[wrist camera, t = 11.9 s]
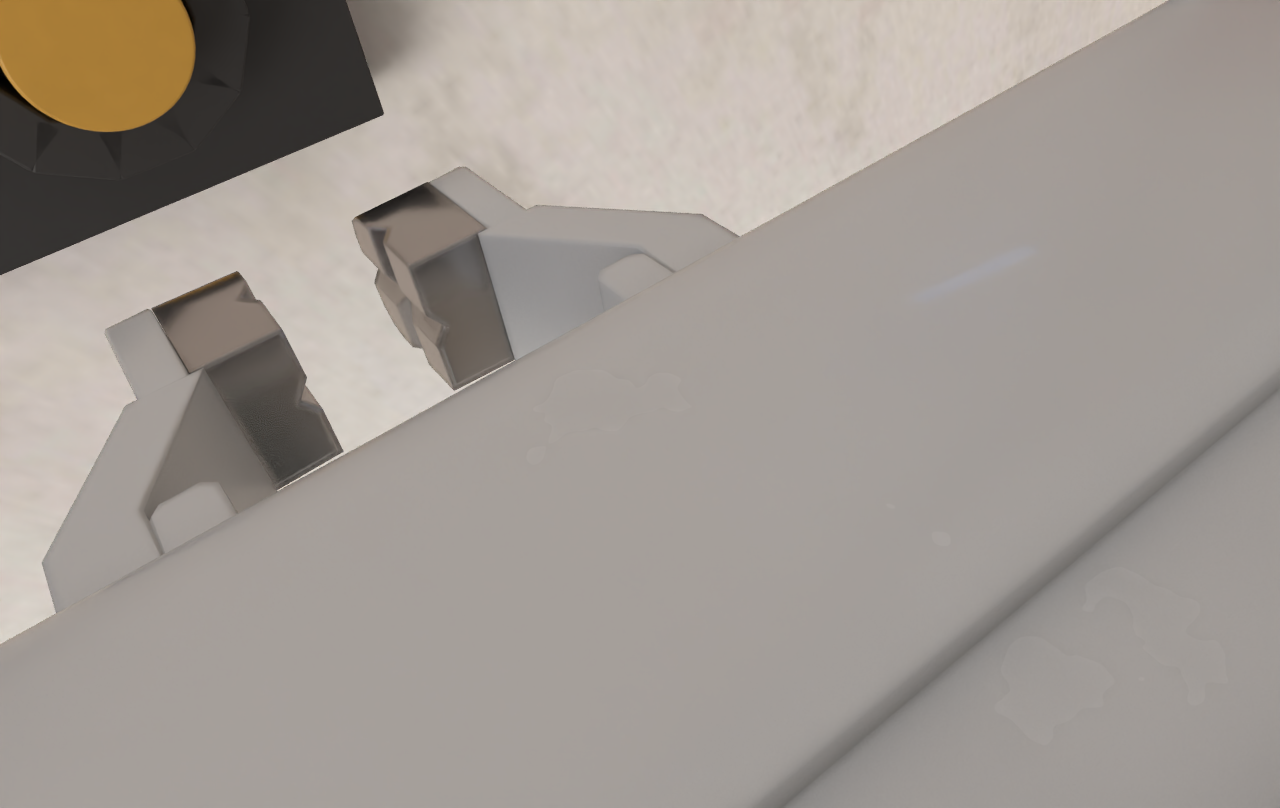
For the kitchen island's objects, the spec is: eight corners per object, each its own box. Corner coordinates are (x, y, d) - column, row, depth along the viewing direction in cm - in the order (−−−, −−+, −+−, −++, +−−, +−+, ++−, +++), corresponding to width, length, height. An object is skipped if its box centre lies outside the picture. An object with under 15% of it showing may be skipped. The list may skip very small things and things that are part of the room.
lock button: (123, -97, 20) (145, -82, 18) (202, 73, 22) (226, 95, 21) (-65, -40, 18) (-53, -21, 17) (41, 133, 21) (56, 160, 20)
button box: (202, -336, 21) (261, -336, 19) (354, 92, 28) (413, 135, 25) (-454, -193, 17) (-496, -168, 14) (-87, 270, 24) (-70, 344, 21)
